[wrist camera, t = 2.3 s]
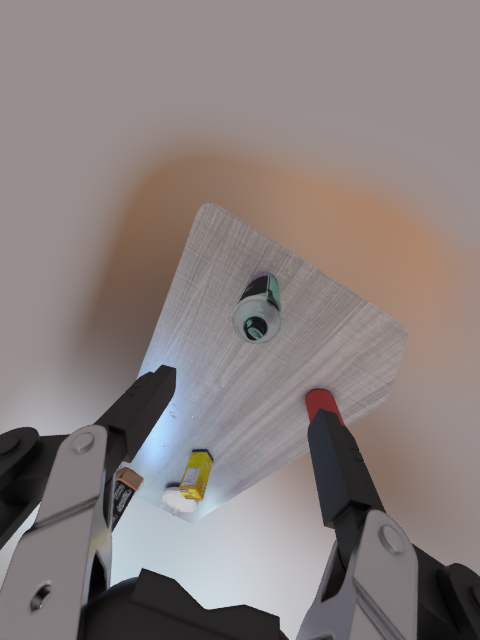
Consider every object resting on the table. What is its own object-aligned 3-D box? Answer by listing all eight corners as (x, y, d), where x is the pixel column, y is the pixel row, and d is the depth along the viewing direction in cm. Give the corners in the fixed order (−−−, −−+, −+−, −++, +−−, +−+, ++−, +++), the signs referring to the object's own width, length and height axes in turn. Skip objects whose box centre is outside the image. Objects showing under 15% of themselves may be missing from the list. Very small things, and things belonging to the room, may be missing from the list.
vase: (161, 490, 79) (151, 512, 73) (172, 476, 72) (162, 499, 66) (192, 505, 80) (185, 528, 74) (205, 493, 73) (199, 517, 67)
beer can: (318, 383, 42) (334, 433, 31) (339, 397, 42) (362, 451, 32) (299, 398, 44) (307, 448, 34) (319, 411, 45) (334, 465, 34)
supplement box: (199, 460, 64) (185, 500, 54) (192, 449, 62) (177, 489, 52) (213, 460, 62) (202, 501, 52) (207, 449, 60) (194, 489, 50)
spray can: (254, 267, 34) (234, 298, 15) (282, 276, 33) (293, 317, 15) (246, 294, 36) (220, 347, 18) (271, 302, 36) (271, 364, 18)
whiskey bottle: (126, 466, 75) (36, 606, 46) (144, 479, 77) (68, 620, 49) (115, 472, 79) (25, 603, 50) (132, 483, 81) (55, 616, 52)
